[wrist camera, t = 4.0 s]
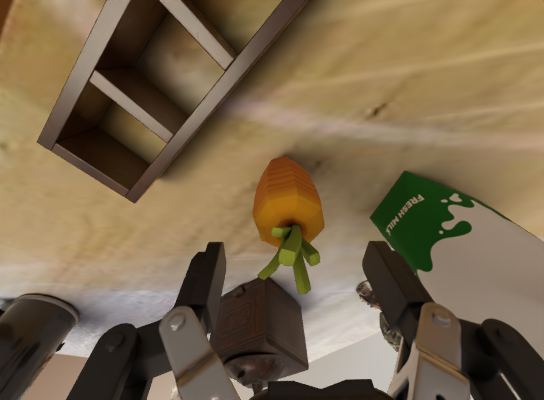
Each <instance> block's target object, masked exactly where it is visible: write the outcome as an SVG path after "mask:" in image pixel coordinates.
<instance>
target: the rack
mask: <svg viewBox="0 0 544 400" xmlns="http://www.w3.org/2000/svg"><path fill="white" fill-rule="evenodd" d="M308 1H309V0H282V1H281V2H280V4H279V5H278V6H277V7H276V9H275V10H274V11H273V12H272V14H271V15H270V16H269V17H268V19H267V20H266V21H265V22H264V24H263V25H262V26H261V27H260V29H259V30H258V31H257V32H256V34H255V35H254V36H253V37H252V39H251V40H250V41H249V42H248V44H247V45H246V46H245V47H244V49H243V50H242V51H241V52H240V54H239V55H237V54H236V53H235V51H234V50H233V49H232V48H231V47H230V46H229V45H228V43H227V42H226V41H225V40H224V39H223V38H222V37H221V35H220V34H219V33H218V32H217V31H216V30H215V29H214V27H213V26H212V25H211V24H210V23H209V22H208V21H207V19H206V18H205V17H204V16H203V15H202V14H201V13H200V11H199V10H198V9H197V8H196V7H195V6H194V5H193V3H192V2H191V1H190V0H106V2H105V4H104V6H103V8H102V10H101V12H100V14H99V16H98V18H97V20H96V22H95V24H94V26H93V28H92V30H91V32H90V34H89V36H88V38H87V40H86V42H85V45H84V47H83V49H82V51H81V53H80V55H79V57H78V59H77V61H76V63H75V65H74V67H73V69H72V71H71V73H70V75H69V77H68V79H67V81H66V83H65V85H64V87H63V89H62V91H61V93H60V95H59V98H58V100H57V102H56V104H55V106H54V108H53V110H52V112H51V114H50V116H49V118H48V120H47V122H46V124H45V126H44V128H43V130H42V132H41V134H40V136H39V138H38V140H37V143H39V144H40V145H42V146H43V147H45V148H47V149H48V150H50V151H52V152H53V153H55V154H56V155H58V156H60V157H61V158H63V159H64V160H66V161H67V162H69V163H71V164H72V165H74V166H75V167H77V168H79V169H80V170H82V171H83V172H85V173H87V174H88V175H90V176H91V177H93V178H95V179H96V180H98V181H99V182H101V183H103V184H104V185H106V186H107V187H109V188H110V189H112V190H114V191H115V192H117V193H118V194H120V195H122V196H123V197H125V198H127V199H128V200H130V201H131V202H133V203H136V202H137V201H138V200H139V199H140V198H141V197H142V196H143V194H144V193H145V192H146V191H147V190H148V189H149V188H150V187H151V186H152V185H153V183H154V182H155V181H156V180H157V179H158V178H159V177H160V176H161V174H162V173H163V172H164V171H165V170H166V169H167V167H168V166H169V165H170V164H171V163H172V161H173V160H174V159H175V158H176V157H177V156H178V154H179V153H180V152H181V151H182V150H183V149H184V147H185V146H186V145H187V144H188V143H189V141H190V140H191V139H192V138H193V137H194V136H195V134H196V133H197V132H198V131H199V130H200V128H201V127H202V126H203V125H204V124H205V123H206V121H207V120H208V119H209V118H210V117H211V116H212V114H213V113H214V112H215V111H216V110H217V108H218V107H219V106H220V105H221V104H222V103H223V101H224V100H225V99H226V98H227V97H228V96H229V94H230V93H231V92H232V91H233V90H234V88H235V87H236V86H237V85H238V84H239V83H240V81H241V80H242V79H243V78H244V77H245V76H246V74H247V73H248V72H249V71H250V70H251V68H252V67H253V66H254V65H255V64H256V63H257V61H258V60H259V59H260V58H261V57H262V55H263V54H264V53H265V52H266V51H267V50H268V48H269V47H270V46H271V45H272V44H273V43H274V41H275V40H276V39H277V38H278V37H279V35H280V34H281V33H282V32H283V31H284V30H285V28H286V27H287V26H288V25H289V24H290V23H291V21H292V20H293V19H294V18H295V17H296V15H297V14H298V13H299V12H300V11H301V10H302V8H303V7H304V6H305V5H306V4H307V3H308ZM167 11H169V12H170V13H171V14H172V15H173V16H174V17H175V18H176V20H177V21H178V22H179V23H180V24H181V25H182V26H183V27H184V28H185V29H186V30H187V31H188V32H189V33H190V35H191V36H192V37H193V38H194V39H195V40H196V41H197V42H198V43H199V44H200V45H201V46H202V47H203V48H204V50H205V51H206V52H207V53H208V54H209V55H210V56H211V57H212V58H213V59H214V60H215V61H216V62H217V63H218V65H219V66H220V67H221V68H222V69H223V70H224V71H225V72H224V74H223V75H222V76H221V77H220V79H219V80H218V81H217V82H216V84H215V85H214V86H213V87H212V89H211V90H210V91H209V92H208V94H207V95H206V96H205V97H204V99H203V100H202V101H201V102H200V104H199V105H198V106H197V107H196V109H195V110H194V111H193V112H192V114H191V115H190V116H189V117H188V116H187V115H186V114H185V113H184V112H183V111H182V110H181V109H179V108H178V107H177V106H176V105H175V104H174V103H173V102H172V101H170V100H169V99H168V98H167V97H166V96H165V95H164V94H163V93H161V92H160V91H159V90H158V89H157V88H156V87H155V86H154V85H152V84H151V83H150V82H149V81H148V80H147V79H146V78H145V77H143V76H142V75H141V74H140V73H139V72H138V71H137V70H136V69H134V68H133V66H134V65H135V63H136V61H137V60H138V58H139V56H140V55H141V53H142V52H143V50H144V48H145V47H146V45H147V43H148V42H149V40H150V38H151V37H152V35H153V34H154V32H155V30H156V29H157V27H158V25H159V24H160V22H161V20H162V19H163V17H164V15H165V14H166V12H167ZM112 101H115V102H116V103H117V104H118V105H120V106H121V107H122V108H123V109H125V110H126V111H127V112H128V113H130V114H131V115H132V116H134V117H135V118H136V119H137V120H139V121H140V122H141V123H142V124H144V125H145V126H146V127H147V128H149V129H150V130H151V131H152V132H154V133H155V134H156V135H157V136H159V137H160V138H161V139H162V140H164V141H165V142H166V143H167V145H166V146H165V147H164V148H163V150H162V151H161V152H160V153H159V155H158V156H157V157H156V158H155V160H154V161H153V162H152V163H151V165H150V164H148V163H147V162H145V161H144V160H143V159H141V158H140V157H139V156H137V155H136V154H134V153H133V152H132V151H130V150H129V149H127V148H126V147H125V146H123V145H122V144H121V143H119V142H118V141H116V140H115V139H114V138H112V137H111V136H110V135H108V134H107V133H105V132H104V131H103V130H101V129H100V128H98V127H97V125H98V124H99V122H100V120H101V119H102V117H103V116H104V114H105V112H106V111H107V109H108V107H109V106H110V104H111V102H112Z"/></svg>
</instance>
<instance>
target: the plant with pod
mask: <svg viewBox="0 0 544 400" xmlns="http://www.w3.org/2000/svg"><path fill="white" fill-rule="evenodd" d="M356 291H357V293H358V294H359V296H360V299H362V302H367V305H370V307H375V308H376V309H380V310H381V308H380V306H379V304H378V301H377V299H376V297H375V295H374V293H373V291H372V288H371V286H370V284H369V282H368V281H367V282H365V283H364V282H363V283H362V284H361V286H359V288H357V290H356ZM381 311H382V310H381ZM380 328H381V331H382V334H383V336H384V338H385V340H386V341H387V342H388V343H389V344H390V345H391V346H392V347H393V348H394V349H395V351H396V352H398V351H399V347H400V342H401V338H402V337H403V335H402V333H401V331H391V330H390V328H389V325H388V323H387V321H386V319H385V317H384V314H383V312H381V313H380Z"/></svg>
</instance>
